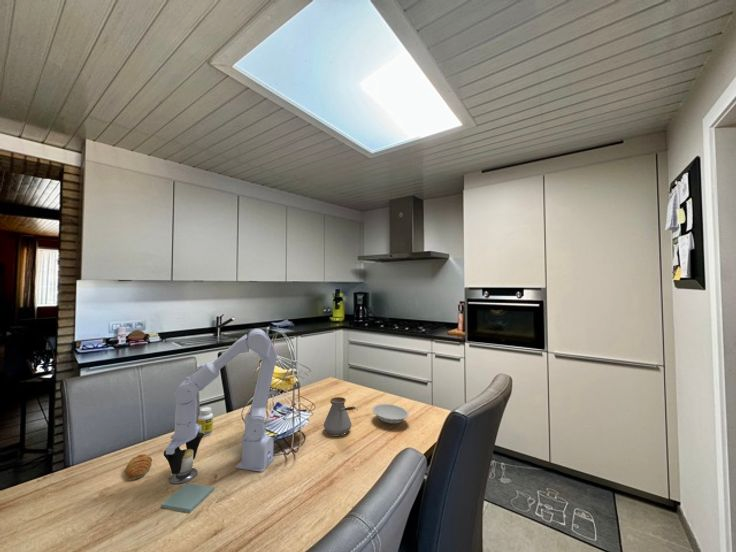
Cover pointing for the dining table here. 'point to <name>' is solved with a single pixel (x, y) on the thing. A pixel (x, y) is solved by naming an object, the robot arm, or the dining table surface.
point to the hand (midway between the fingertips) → (183, 465)
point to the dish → (390, 413)
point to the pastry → (138, 466)
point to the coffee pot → (338, 417)
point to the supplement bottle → (205, 421)
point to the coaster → (187, 497)
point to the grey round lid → (183, 476)
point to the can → (187, 460)
